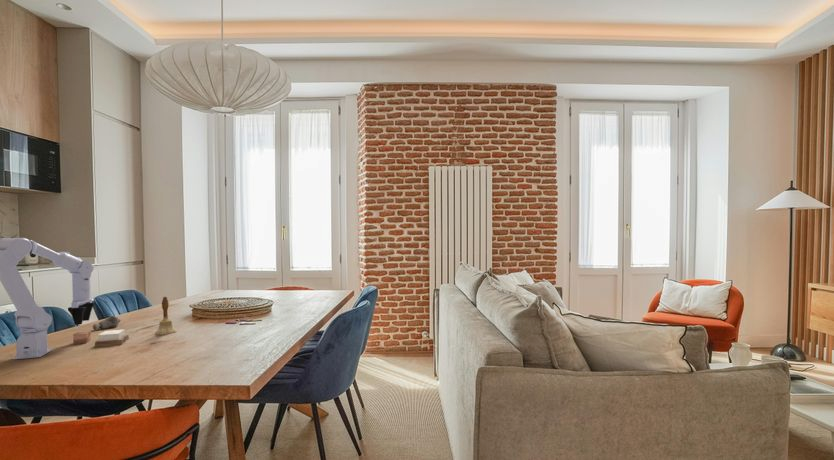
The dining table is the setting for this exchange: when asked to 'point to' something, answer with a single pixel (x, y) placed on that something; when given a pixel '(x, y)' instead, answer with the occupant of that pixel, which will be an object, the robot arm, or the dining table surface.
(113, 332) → the white flat square slab
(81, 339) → the block
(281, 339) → the dining table surface
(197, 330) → the dining table surface
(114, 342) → the tower base
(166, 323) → the hand bell
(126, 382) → the dining table surface
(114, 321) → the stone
